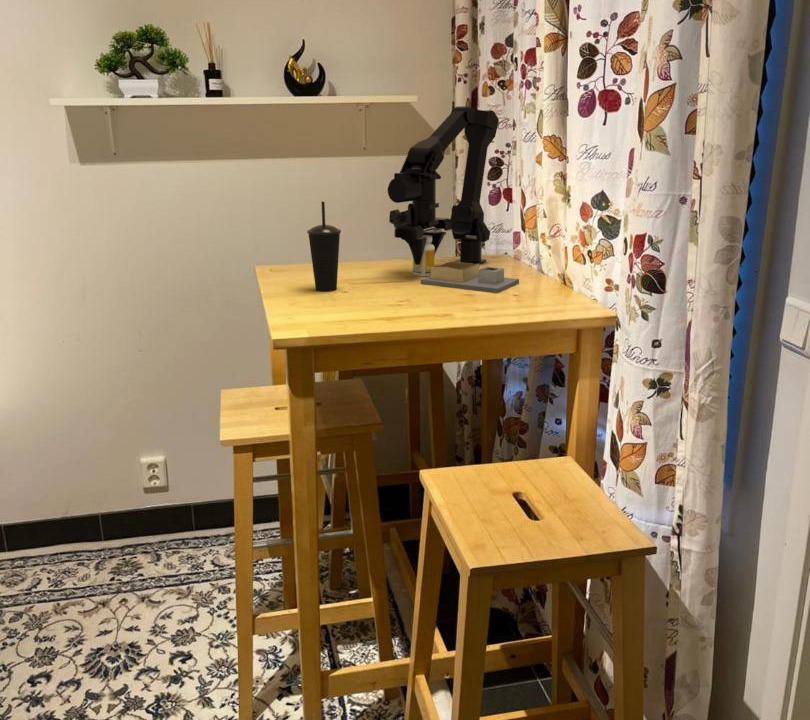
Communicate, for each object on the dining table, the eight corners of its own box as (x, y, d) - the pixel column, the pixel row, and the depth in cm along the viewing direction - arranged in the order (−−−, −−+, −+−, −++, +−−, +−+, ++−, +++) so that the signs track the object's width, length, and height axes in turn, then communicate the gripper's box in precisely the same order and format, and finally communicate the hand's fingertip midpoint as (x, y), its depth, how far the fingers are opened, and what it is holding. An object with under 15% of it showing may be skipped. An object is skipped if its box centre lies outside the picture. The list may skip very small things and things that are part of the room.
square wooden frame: (447, 272, 194) (448, 260, 193) (478, 276, 190) (479, 264, 189) (430, 279, 187) (430, 266, 186) (462, 282, 183) (462, 270, 182)
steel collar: (486, 279, 187) (486, 266, 186) (503, 281, 185) (504, 268, 184) (478, 282, 183) (478, 269, 182) (495, 284, 181) (496, 271, 180)
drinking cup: (322, 294, 177) (318, 204, 171) (303, 289, 183) (299, 201, 176) (349, 289, 182) (346, 201, 176) (329, 284, 187) (326, 199, 181)
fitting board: (445, 274, 197) (445, 271, 197) (519, 283, 187) (519, 279, 187) (420, 283, 187) (420, 279, 187) (497, 293, 177) (497, 288, 177)
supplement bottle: (412, 276, 195) (412, 238, 193) (413, 272, 201) (413, 234, 198) (434, 276, 195) (434, 238, 192) (434, 272, 200) (435, 234, 197)
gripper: (415, 194, 204) (415, 254, 208) (375, 201, 189) (376, 265, 193) (453, 196, 198) (452, 257, 203) (415, 203, 183) (415, 270, 188)
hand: (423, 262), depth 197 cm, fingers open, 6 cm apart
